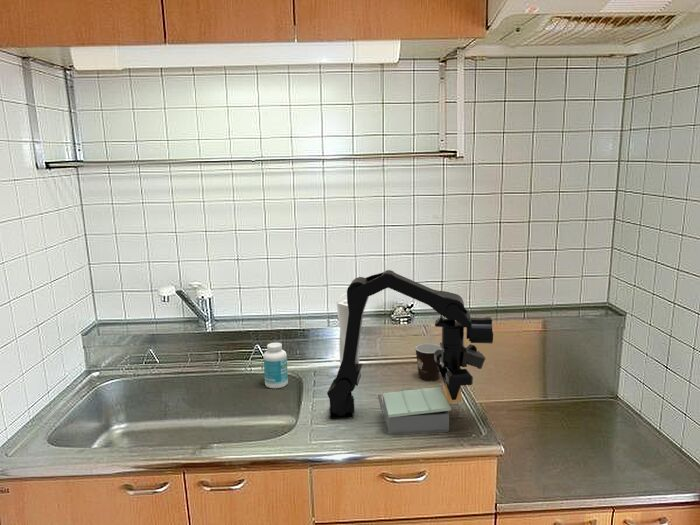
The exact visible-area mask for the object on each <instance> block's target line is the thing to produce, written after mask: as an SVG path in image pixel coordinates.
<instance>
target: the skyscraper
mask: <svg viewBox="0 0 700 525" xmlns="http://www.w3.org/2000/svg"><path fill="white" fill-rule="evenodd" d="M343 296H347V292H345V293H343V294H341V295H340V296H339V297H338V299H337V301H336V303H335V304H336V309H337V310H336V312H337V319H338V325H339V330H340V331H339V361H340V365H341V363H342V360H343V353H344V346H345V338H346V331H347V323H348V316H349V310H348V304H347V298H346V299H344V300H342V301H340V299H341V298H342V297H343ZM357 361H358V364H360V346H359V347H358V354H357Z"/></svg>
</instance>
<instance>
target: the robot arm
mask: <svg viewBox="0 0 700 525" xmlns="http://www.w3.org/2000/svg"><path fill="white" fill-rule="evenodd" d="M386 289H390V290H393V291H395V292H397V293H400V294H402V295H405V296H406V297H409V298H412V299H414V300H416V301H418V302H421V303H423V304H424V305H427V306H429V307H430V308H432V309H433V310H434V311H435V312H436V313H437V314H439V315H440V316H439V317H438V318H437V319H436V320H435V321H434V326H435V327H436V328H440V327H441V342H439V343H440V344H439V346H440V347H441V348H442V350H437V351H436V352H435V353H434V360H435V361H436V362H438V361H439V360H440V364H439V365H437V367H438V369H439V371H440V372H439V375H440V376H441V378H442V381H443V383H446V385H447V388H448V391H449V393H450V396H451V399H452V400H456V398H457V395H458V392H459V389H460V387H461V386H472V385H473V383H474V377H473V376H472V374H471V372H470V371H469V370H468V369H467V366H471V367H474V368H476V369H479V370H482V368H483V366H484V363H485V360H486V356H485V355H483V353H482V352H480V351H479V350H477V349H478V348H477V346H476V345H475V344H491V345H492V344H493V343H494V332H493V318H492V317H490V316H489V317H488V316H487V317H471V314H470V312H469V311H468V310H467V309H466V307H465V302H464V300H463V298H462V297H461V295H459V294H458V293H453V292H449V291H445V290H437V289H433V288H430V287H428V286H426V285H424V284H421V283H419V282H417V281H415V280H413V279H411V278H410V279H409V278H407V277H405V276H403V275H400V274H398V273H396V272H395V271H394V270H390V269H387V270H385V271H382V272H380V273H376V274H372V275H370V276H366V277H363V276H358V277H356V278H354V279H353V280H352V281H351V282H350V284H349V285H348V287H347V290H346V293H347V294H346V299H347V304H348V310H349V316H348V323H347V331H346V338H345V346H344V353H343V360H342V363H341V364H340V366H339V368H338V370H337V371H338V372H337V375H336V377H335V378H334V379H333V380H332V381H331V384H330V386H329V388H328V391H327V392H326V394H327V396H328V400H329V419H331V420H338V419H339V420H340V419H353V418H354V414H355V398H354V395H353V394H352V392H353V391H354V390H355V388H356V387H358V386H359V383H360V380H361V378H362V373H361V370H362V367H363V365H364V364H363V363H359V364H358V361H357V354H358V347H359V348H360V340H361V339H360V338H361V332H362V324H363V318H364V317H363V316H364V311H365V309H366V305H367V303H368V300H369V297H371V296H373V295H375V294H377V293H379V292H382V291H384V290H386ZM464 329H465V330H466V331H465V330H464ZM464 332H465V334H464ZM465 335H466V336H465ZM464 336H465V338H466V339H467V340H468V342H470V344H469V345H467V347H466V346H465V345H464V340H465V338H464ZM461 367H462V368H461ZM461 388H462V387H461Z"/></svg>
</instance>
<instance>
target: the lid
mask: <svg viewBox="0 0 700 525" xmlns="http://www.w3.org/2000/svg"><path fill="white" fill-rule="evenodd" d="M442 387H443V388H441V386H437V387H427V388H426V387H425V388H418V389H410V390H409V389H408V390H401V391H393V392H384V393H383V392H382V396H383V397H382V399H383V398H384V401H385V405H386V409H387V413H388V417H398V416H407V415H415V414H424V413H433V412H441V411H448V412H450V411H452V407H451V406H450V403H457V402H462V401H463V400H462V397H463V396H462V387H460V389H459V392H458V395H457V398H456V400H452V399H451V396H450V393H449V391H448V388H447V385H446V383H444V382H442ZM442 389H443V390H442Z"/></svg>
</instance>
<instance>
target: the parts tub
mask: <svg viewBox="0 0 700 525" xmlns="http://www.w3.org/2000/svg"><path fill="white" fill-rule="evenodd" d="M377 399H378V401H379V406H380V410H381V414H382V416H383V418H384V422H385V425H386V429H387V433H388V435H389V436H393V435H394V436H395V435H396V436H397V435H409V434H411V435H412V434H429V433H447V432H450V413H449V411H441V412H433V413H424V414H415V415H407V416H398V417H388V413H387V409H386V405H385V401H384V398H383V397H382V396H381V394H378V395H377Z"/></svg>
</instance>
